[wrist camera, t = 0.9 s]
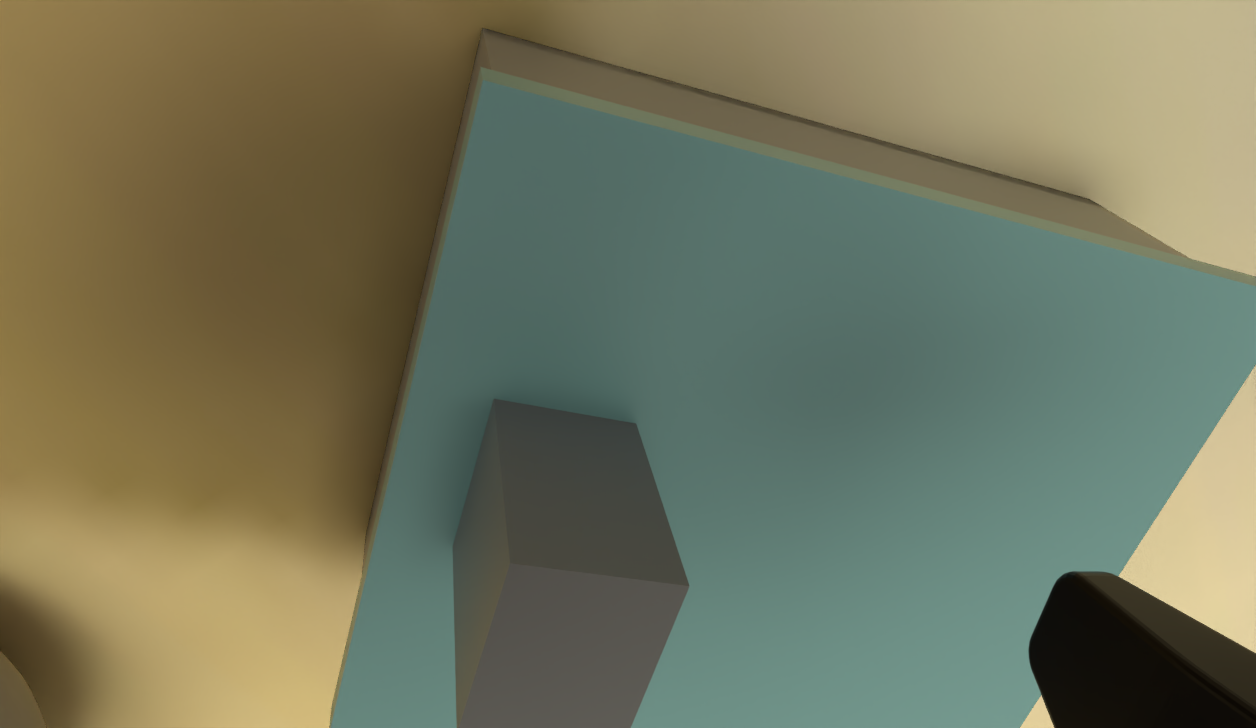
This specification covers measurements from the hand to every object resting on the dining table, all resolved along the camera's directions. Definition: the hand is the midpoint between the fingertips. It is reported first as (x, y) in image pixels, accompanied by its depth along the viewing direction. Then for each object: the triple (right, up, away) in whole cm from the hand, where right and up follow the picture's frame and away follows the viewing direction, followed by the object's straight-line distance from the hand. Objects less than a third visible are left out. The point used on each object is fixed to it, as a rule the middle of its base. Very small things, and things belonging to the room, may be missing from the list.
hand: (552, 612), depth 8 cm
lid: (+3, 0, +12) cm, 12 cm away
